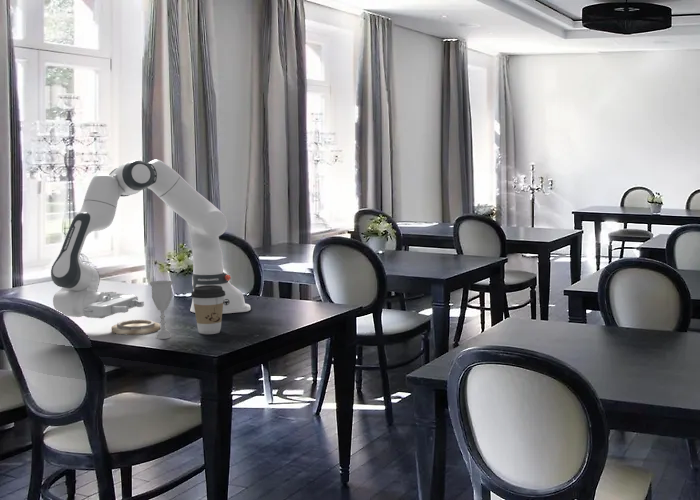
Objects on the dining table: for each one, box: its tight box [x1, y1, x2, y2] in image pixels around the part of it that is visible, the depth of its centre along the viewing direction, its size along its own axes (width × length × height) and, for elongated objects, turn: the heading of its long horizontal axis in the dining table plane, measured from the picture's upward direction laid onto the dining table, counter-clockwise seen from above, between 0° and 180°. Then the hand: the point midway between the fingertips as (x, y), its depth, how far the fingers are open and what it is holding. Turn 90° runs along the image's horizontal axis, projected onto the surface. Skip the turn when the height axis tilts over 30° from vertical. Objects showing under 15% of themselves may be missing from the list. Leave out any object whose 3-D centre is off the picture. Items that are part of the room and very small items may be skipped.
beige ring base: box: [111, 318, 161, 336], centre depth 287 cm, size 16×16×2 cm
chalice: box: [149, 280, 174, 340], centre depth 274 cm, size 7×7×18 cm
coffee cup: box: [190, 285, 226, 335], centre depth 282 cm, size 11×11×15 cm
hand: (135, 306), depth 277 cm, fingers open, 8 cm apart
